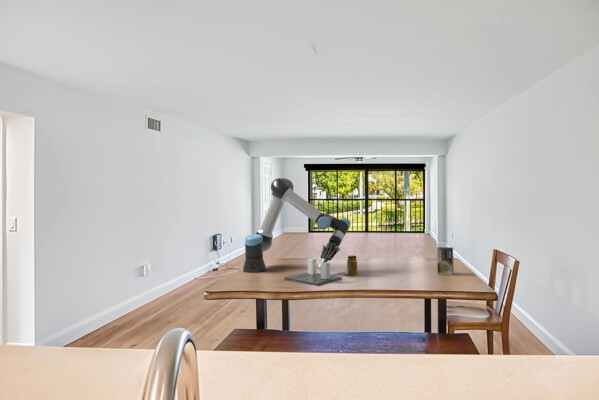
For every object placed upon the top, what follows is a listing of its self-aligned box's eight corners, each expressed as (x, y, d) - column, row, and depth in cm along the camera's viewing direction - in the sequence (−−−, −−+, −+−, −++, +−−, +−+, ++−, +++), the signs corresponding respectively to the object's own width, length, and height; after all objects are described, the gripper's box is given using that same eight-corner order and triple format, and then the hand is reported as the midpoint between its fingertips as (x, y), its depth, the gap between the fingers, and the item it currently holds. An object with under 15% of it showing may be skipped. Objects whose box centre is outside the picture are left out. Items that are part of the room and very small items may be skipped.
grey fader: (320, 278, 248) (320, 263, 248) (324, 277, 251) (324, 262, 251) (326, 279, 246) (325, 263, 245) (330, 278, 248) (329, 262, 248)
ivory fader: (307, 273, 262) (307, 259, 262) (311, 273, 265) (311, 258, 265) (312, 274, 260) (312, 259, 259) (316, 273, 262) (316, 259, 262)
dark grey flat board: (284, 279, 255) (284, 277, 255) (309, 274, 271) (309, 271, 271) (316, 285, 237) (316, 283, 237) (341, 279, 253) (341, 276, 253)
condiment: (360, 275, 263) (359, 256, 263) (349, 277, 259) (349, 257, 258) (352, 273, 270) (352, 254, 269) (342, 275, 265) (341, 256, 265)
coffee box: (453, 273, 265) (453, 247, 264) (452, 275, 259) (452, 248, 258) (438, 272, 268) (438, 246, 268) (437, 274, 263) (436, 248, 262)
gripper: (347, 243, 276) (330, 273, 264) (331, 241, 285) (315, 270, 273) (341, 235, 272) (325, 265, 260) (326, 234, 281) (309, 263, 269)
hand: (320, 268), depth 267 cm, fingers closed
